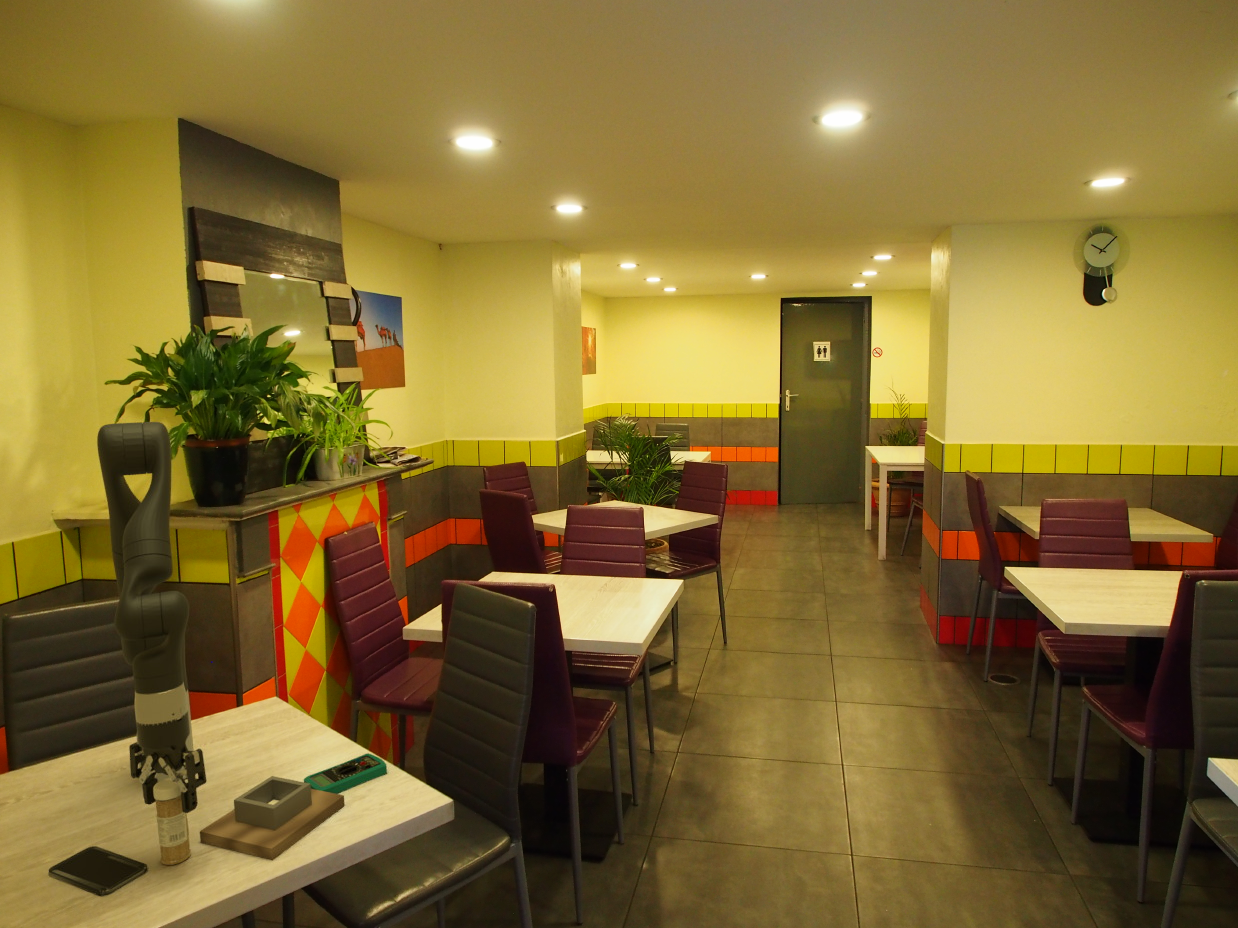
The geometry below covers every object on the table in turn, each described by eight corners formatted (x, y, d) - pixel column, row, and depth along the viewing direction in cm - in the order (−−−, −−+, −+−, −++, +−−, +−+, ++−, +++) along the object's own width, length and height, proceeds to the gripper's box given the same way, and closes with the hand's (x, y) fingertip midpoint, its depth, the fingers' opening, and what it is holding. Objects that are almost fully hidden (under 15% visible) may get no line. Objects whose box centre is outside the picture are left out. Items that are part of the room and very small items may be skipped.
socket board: (200, 841, 143) (199, 829, 143) (277, 791, 160) (276, 780, 159) (272, 859, 137) (271, 847, 137) (344, 805, 154) (343, 794, 154)
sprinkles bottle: (191, 847, 141) (184, 773, 140) (190, 861, 137) (183, 785, 136) (161, 854, 139) (153, 779, 138) (159, 869, 135) (151, 792, 134)
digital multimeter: (390, 774, 166) (389, 760, 166) (320, 803, 156) (319, 788, 155) (371, 762, 171) (370, 749, 171) (302, 790, 161) (301, 776, 160)
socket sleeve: (235, 821, 146) (233, 799, 145) (273, 795, 154) (271, 775, 154) (275, 830, 142) (273, 808, 142) (311, 804, 151) (310, 783, 150)
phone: (103, 892, 128) (45, 869, 135) (104, 899, 129) (46, 876, 135) (151, 865, 135) (93, 844, 142) (151, 871, 136) (94, 850, 142)
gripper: (110, 716, 134) (119, 810, 136) (174, 727, 129) (183, 825, 131) (150, 699, 141) (159, 789, 143) (213, 708, 136) (221, 801, 138)
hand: (170, 806), depth 137 cm, fingers open, 8 cm apart
